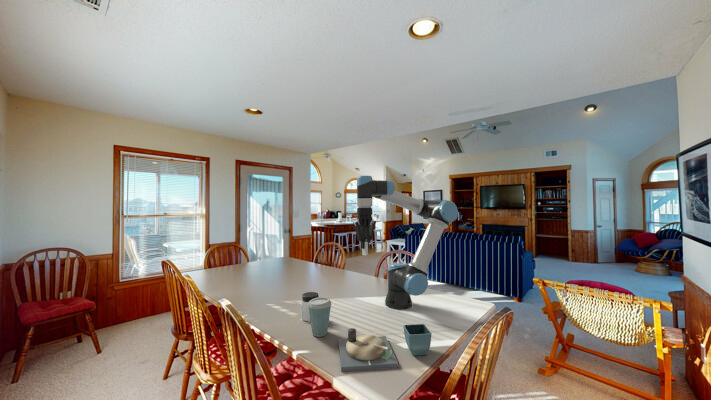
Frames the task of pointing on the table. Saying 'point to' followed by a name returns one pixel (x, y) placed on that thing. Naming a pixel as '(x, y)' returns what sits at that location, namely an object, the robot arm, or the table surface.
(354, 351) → the dial
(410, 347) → the flower pot
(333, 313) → the table surface
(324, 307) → the disposable coffee cup
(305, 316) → the jar
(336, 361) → the table surface
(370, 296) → the table surface
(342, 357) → the tuner base
